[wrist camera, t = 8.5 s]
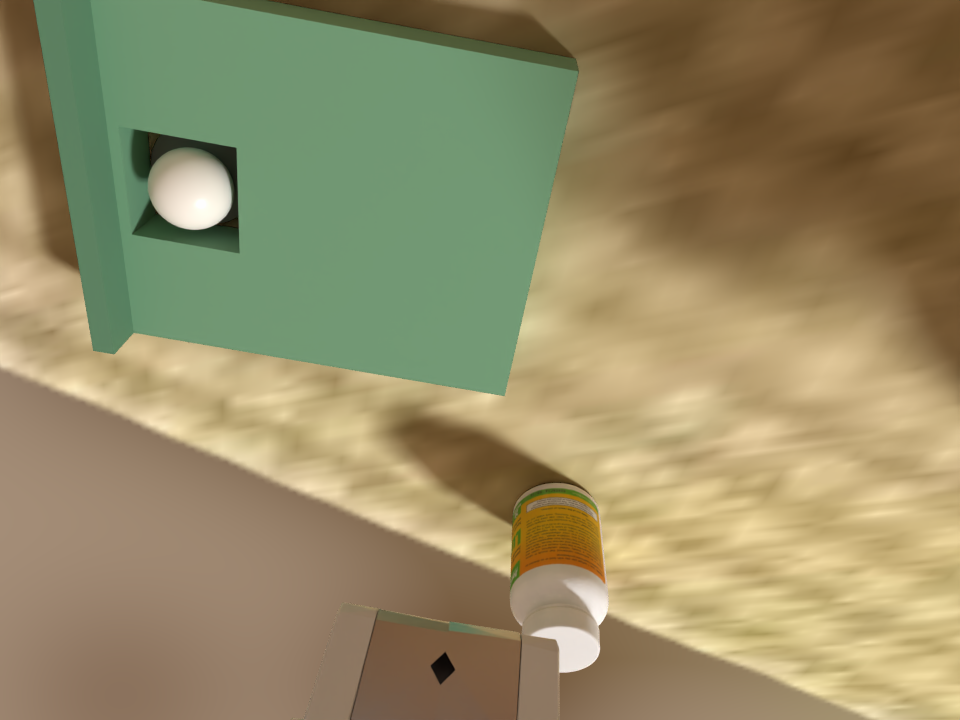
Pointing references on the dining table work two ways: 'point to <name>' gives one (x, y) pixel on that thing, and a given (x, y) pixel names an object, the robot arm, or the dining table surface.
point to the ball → (190, 188)
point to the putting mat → (308, 181)
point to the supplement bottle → (559, 571)
